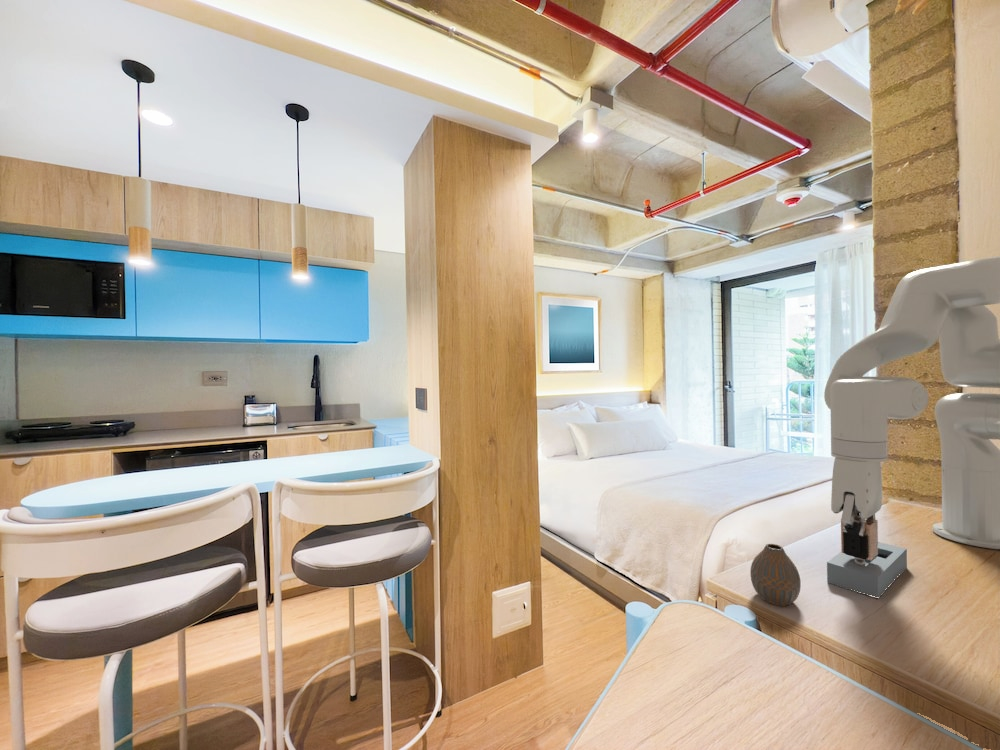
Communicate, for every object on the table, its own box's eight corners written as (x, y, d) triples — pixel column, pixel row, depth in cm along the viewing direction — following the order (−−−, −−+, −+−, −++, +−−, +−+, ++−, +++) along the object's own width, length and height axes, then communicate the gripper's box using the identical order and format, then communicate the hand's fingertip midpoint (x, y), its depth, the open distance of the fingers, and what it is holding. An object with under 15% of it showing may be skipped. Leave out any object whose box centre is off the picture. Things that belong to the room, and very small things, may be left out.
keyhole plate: (860, 555, 84) (860, 537, 84) (906, 567, 78) (906, 548, 78) (827, 582, 73) (827, 562, 73) (877, 599, 68) (877, 577, 68)
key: (849, 568, 76) (848, 514, 76) (878, 577, 73) (877, 520, 73) (841, 574, 74) (840, 518, 74) (871, 584, 70) (870, 525, 70)
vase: (795, 593, 70) (794, 541, 70) (805, 615, 64) (804, 558, 64) (748, 585, 73) (747, 535, 73) (753, 605, 67) (752, 551, 67)
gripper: (847, 441, 81) (849, 534, 81) (814, 452, 71) (816, 558, 71) (900, 446, 75) (901, 547, 75) (871, 459, 65) (873, 575, 65)
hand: (859, 551), depth 73 cm, fingers closed on key, 3 cm apart
